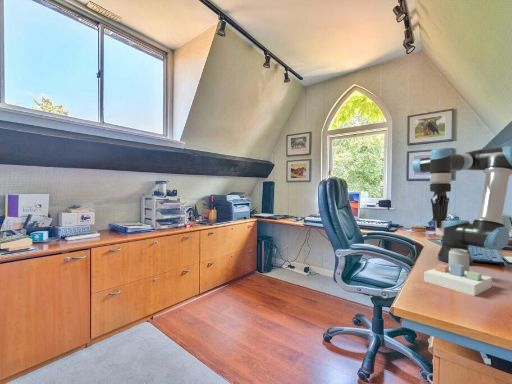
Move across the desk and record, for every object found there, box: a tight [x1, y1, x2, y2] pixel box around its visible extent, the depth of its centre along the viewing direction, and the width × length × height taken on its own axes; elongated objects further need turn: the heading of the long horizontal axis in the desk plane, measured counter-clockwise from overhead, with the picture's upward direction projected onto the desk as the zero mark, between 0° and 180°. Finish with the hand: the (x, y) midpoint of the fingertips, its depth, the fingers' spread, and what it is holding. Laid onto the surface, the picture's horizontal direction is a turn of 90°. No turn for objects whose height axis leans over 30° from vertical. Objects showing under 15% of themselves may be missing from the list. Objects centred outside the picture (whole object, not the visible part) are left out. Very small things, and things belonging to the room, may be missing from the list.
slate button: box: [450, 263, 465, 277], centre depth 102 cm, size 4×4×5 cm
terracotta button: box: [434, 263, 449, 273], centre depth 107 cm, size 4×4×5 cm
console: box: [423, 267, 493, 297], centre depth 102 cm, size 18×17×4 cm
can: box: [447, 248, 471, 272], centre depth 113 cm, size 8×8×12 cm
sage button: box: [467, 270, 483, 281], centre depth 97 cm, size 4×4×5 cm
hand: (439, 234), depth 109 cm, fingers closed
